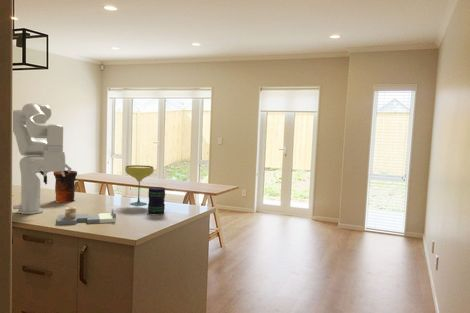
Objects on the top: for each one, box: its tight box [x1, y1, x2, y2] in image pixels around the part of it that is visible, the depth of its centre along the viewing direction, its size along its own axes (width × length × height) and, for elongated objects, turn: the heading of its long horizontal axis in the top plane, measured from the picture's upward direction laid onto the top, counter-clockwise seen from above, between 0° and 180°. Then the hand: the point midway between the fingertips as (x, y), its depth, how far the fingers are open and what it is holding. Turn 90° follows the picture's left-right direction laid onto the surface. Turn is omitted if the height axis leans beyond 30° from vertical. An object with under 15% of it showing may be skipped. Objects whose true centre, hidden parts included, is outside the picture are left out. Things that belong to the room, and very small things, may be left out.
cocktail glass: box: [125, 164, 154, 207], centre depth 250 cm, size 18×18×25 cm
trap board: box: [56, 208, 117, 226], centre depth 200 cm, size 28×14×4 cm, turn 113°
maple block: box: [64, 206, 77, 219], centre depth 196 cm, size 5×5×5 cm
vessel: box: [53, 169, 78, 203], centre depth 250 cm, size 14×14×20 cm
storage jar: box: [147, 186, 166, 215], centre depth 226 cm, size 10×10×15 cm
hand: (54, 183), depth 192 cm, fingers open, 6 cm apart
